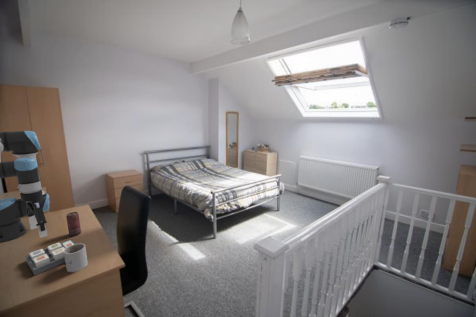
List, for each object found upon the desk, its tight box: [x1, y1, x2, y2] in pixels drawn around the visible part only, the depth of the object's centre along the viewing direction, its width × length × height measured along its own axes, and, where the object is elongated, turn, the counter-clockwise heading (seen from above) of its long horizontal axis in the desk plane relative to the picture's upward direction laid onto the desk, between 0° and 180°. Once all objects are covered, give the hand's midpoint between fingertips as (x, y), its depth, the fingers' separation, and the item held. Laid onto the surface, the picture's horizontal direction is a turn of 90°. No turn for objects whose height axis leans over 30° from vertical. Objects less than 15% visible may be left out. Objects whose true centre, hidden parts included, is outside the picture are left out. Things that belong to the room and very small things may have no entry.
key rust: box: [33, 254, 50, 268], centre depth 108 cm, size 5×5×3 cm
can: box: [65, 211, 82, 237], centre depth 137 cm, size 6×6×14 cm
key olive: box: [47, 242, 62, 255], centre depth 118 cm, size 5×5×3 cm
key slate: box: [28, 248, 45, 262], centre depth 113 cm, size 5×5×3 cm
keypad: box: [24, 238, 77, 277], centre depth 116 cm, size 17×20×3 cm
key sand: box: [52, 247, 65, 260], centre depth 114 cm, size 5×5×3 cm
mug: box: [64, 243, 89, 273], centre depth 110 cm, size 12×9×10 cm
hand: (38, 232), depth 106 cm, fingers open, 13 cm apart
